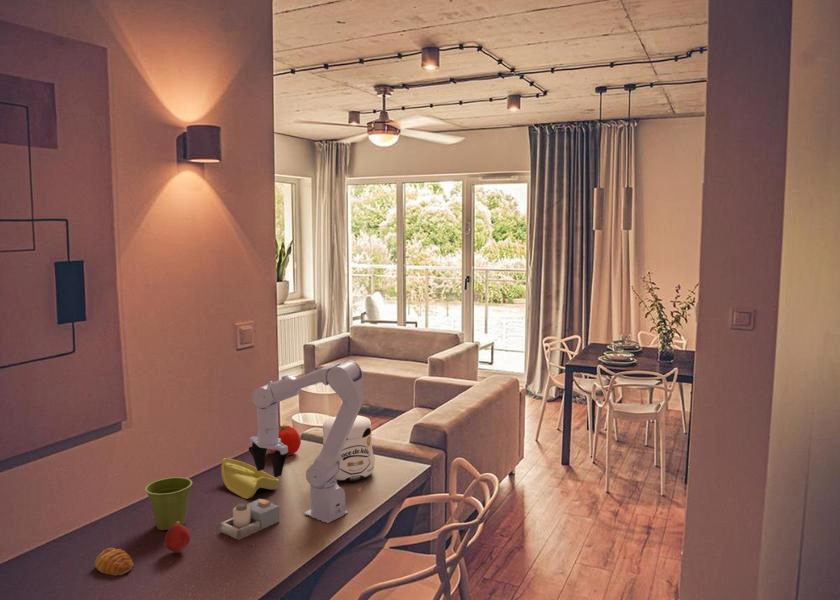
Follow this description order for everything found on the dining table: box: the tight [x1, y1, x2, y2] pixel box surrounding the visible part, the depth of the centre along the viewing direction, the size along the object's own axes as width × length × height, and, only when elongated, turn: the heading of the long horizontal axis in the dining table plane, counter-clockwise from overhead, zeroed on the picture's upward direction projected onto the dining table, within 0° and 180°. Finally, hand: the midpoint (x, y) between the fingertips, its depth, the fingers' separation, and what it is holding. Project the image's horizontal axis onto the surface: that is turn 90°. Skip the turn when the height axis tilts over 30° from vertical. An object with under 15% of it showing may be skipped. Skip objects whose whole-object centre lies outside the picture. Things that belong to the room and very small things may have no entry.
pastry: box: [94, 547, 134, 576], centre depth 149 cm, size 9×7×4 cm
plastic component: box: [220, 457, 280, 500], centre depth 196 cm, size 20×7×10 cm
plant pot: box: [144, 476, 193, 531], centre depth 170 cm, size 12×12×11 cm
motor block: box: [246, 498, 280, 529], centre depth 172 cm, size 8×6×5 cm
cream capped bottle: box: [232, 502, 251, 529], centre depth 167 cm, size 4×4×7 cm
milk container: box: [322, 415, 376, 483], centre depth 204 cm, size 17×17×18 cm
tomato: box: [268, 424, 302, 456], centre depth 223 cm, size 11×13×10 cm
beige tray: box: [219, 516, 261, 541], centre depth 167 cm, size 8×8×2 cm
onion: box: [164, 522, 191, 554], centre depth 156 cm, size 6×6×8 cm
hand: (269, 472), depth 181 cm, fingers open, 7 cm apart
